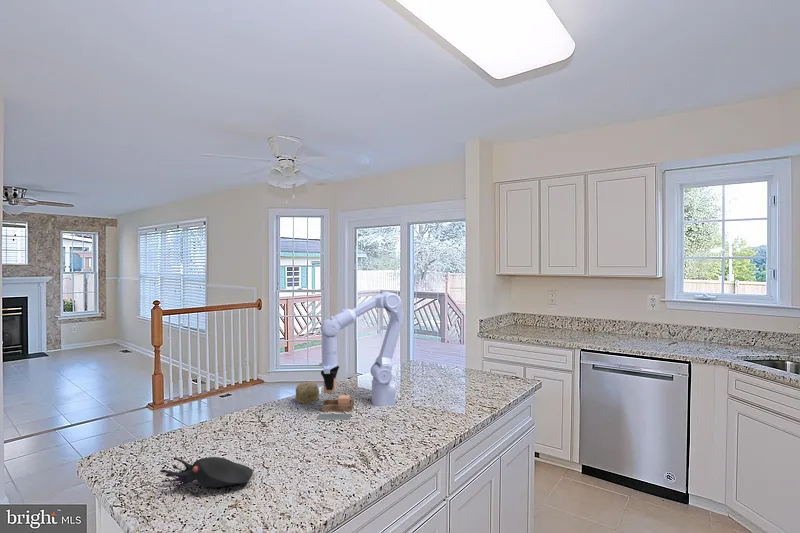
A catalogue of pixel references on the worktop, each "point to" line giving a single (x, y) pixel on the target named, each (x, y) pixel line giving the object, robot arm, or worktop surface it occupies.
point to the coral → (307, 392)
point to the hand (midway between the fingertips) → (330, 387)
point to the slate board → (334, 417)
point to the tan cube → (332, 389)
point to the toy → (211, 472)
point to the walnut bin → (336, 406)
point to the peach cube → (344, 400)
